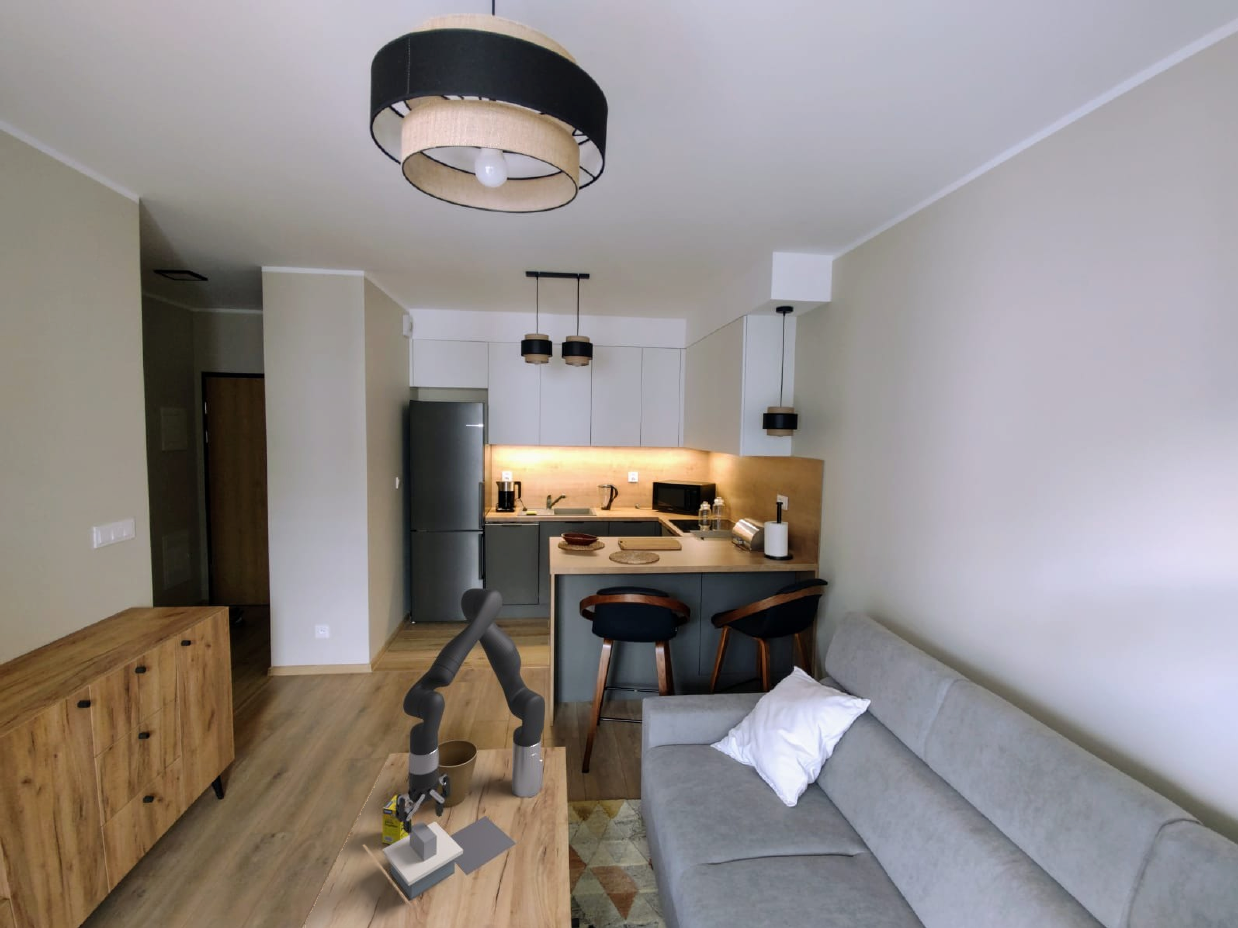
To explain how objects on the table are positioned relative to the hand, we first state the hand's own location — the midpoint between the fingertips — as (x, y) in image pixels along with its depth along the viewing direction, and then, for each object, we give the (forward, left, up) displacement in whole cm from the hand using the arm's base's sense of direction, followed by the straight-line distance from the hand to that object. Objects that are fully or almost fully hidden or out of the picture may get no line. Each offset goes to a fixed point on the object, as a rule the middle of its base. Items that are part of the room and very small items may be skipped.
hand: (423, 823), depth 144 cm
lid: (0, 0, -8) cm, 8 cm away
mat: (-16, +1, -14) cm, 21 cm away
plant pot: (-21, -21, -15) cm, 33 cm away
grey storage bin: (0, 0, -14) cm, 14 cm away
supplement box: (-1, -17, -15) cm, 22 cm away
